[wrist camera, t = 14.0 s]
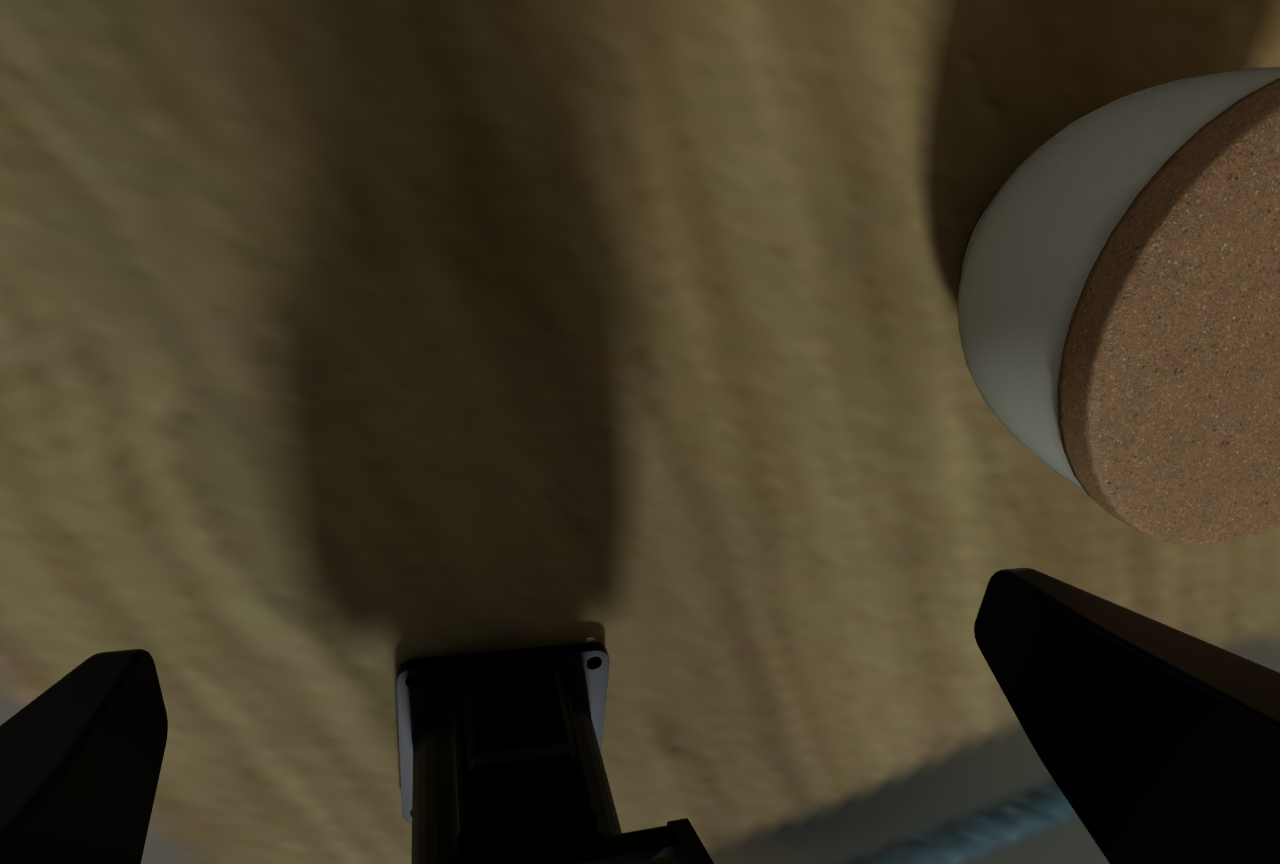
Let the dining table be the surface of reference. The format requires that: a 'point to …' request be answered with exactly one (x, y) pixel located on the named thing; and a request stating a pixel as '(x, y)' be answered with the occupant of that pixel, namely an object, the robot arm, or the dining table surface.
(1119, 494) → the lidded jar
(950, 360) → the dining table surface
